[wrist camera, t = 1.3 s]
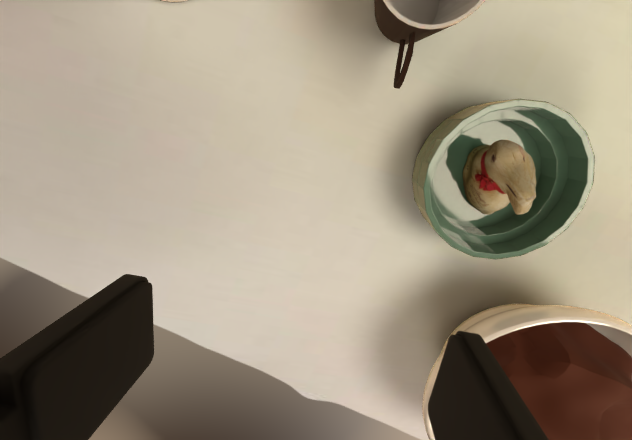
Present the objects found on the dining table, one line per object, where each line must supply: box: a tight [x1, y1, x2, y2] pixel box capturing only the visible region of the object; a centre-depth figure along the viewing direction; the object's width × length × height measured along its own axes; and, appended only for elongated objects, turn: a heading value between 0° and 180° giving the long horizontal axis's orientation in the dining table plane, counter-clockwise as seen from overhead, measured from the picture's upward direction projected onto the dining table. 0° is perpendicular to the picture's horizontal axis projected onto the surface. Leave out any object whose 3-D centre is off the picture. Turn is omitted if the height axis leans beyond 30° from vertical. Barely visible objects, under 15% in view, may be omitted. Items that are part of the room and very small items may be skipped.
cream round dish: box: [422, 304, 632, 440], centre depth 34 cm, size 25×25×15 cm
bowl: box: [412, 99, 595, 259], centre depth 32 cm, size 15×15×6 cm
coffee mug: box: [375, 0, 485, 89], centre depth 26 cm, size 12×9×10 cm
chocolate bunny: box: [463, 140, 536, 215], centre depth 29 cm, size 6×8×10 cm
